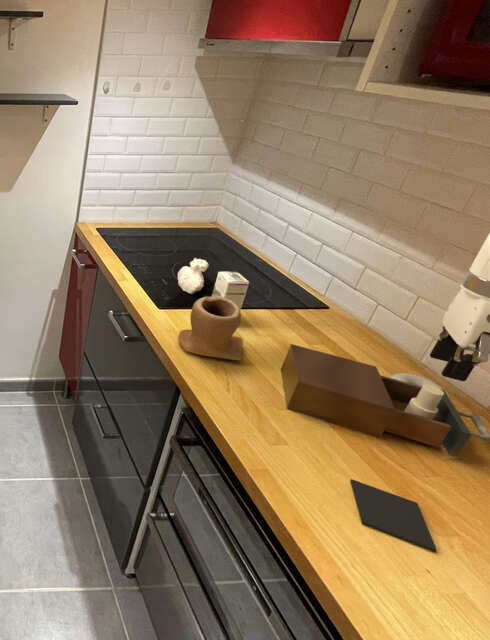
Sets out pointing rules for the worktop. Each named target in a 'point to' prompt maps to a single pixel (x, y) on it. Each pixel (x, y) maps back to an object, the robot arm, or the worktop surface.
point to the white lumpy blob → (192, 276)
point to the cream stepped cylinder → (425, 402)
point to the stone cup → (213, 329)
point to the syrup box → (231, 287)
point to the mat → (392, 515)
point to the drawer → (428, 431)
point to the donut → (415, 380)
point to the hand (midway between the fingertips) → (446, 367)
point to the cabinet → (336, 390)
